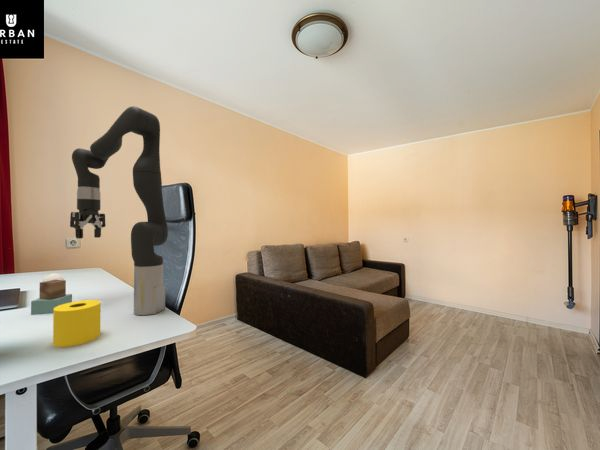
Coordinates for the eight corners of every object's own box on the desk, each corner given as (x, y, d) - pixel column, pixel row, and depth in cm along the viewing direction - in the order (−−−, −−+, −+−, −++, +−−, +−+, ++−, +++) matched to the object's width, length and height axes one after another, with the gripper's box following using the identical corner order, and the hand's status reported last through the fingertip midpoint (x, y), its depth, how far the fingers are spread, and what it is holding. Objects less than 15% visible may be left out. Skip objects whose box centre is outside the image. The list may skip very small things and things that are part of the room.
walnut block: (65, 296, 97) (65, 280, 97) (50, 299, 92) (50, 283, 92) (54, 295, 98) (54, 279, 98) (39, 299, 93) (39, 282, 93)
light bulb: (68, 297, 112) (68, 272, 112) (51, 301, 105) (52, 275, 105) (54, 296, 112) (54, 271, 112) (37, 301, 106) (37, 274, 106)
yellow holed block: (45, 350, 65) (45, 313, 65) (63, 334, 74) (63, 302, 74) (93, 343, 69) (93, 308, 69) (104, 329, 78) (105, 298, 78)
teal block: (72, 306, 100) (72, 294, 100) (58, 313, 92) (58, 299, 92) (47, 308, 98) (47, 295, 98) (31, 315, 90) (31, 301, 90)
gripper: (82, 196, 98) (82, 238, 98) (111, 200, 112) (111, 237, 112) (63, 196, 98) (63, 238, 98) (94, 200, 113) (94, 237, 113)
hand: (88, 237), depth 105 cm, fingers open, 8 cm apart
